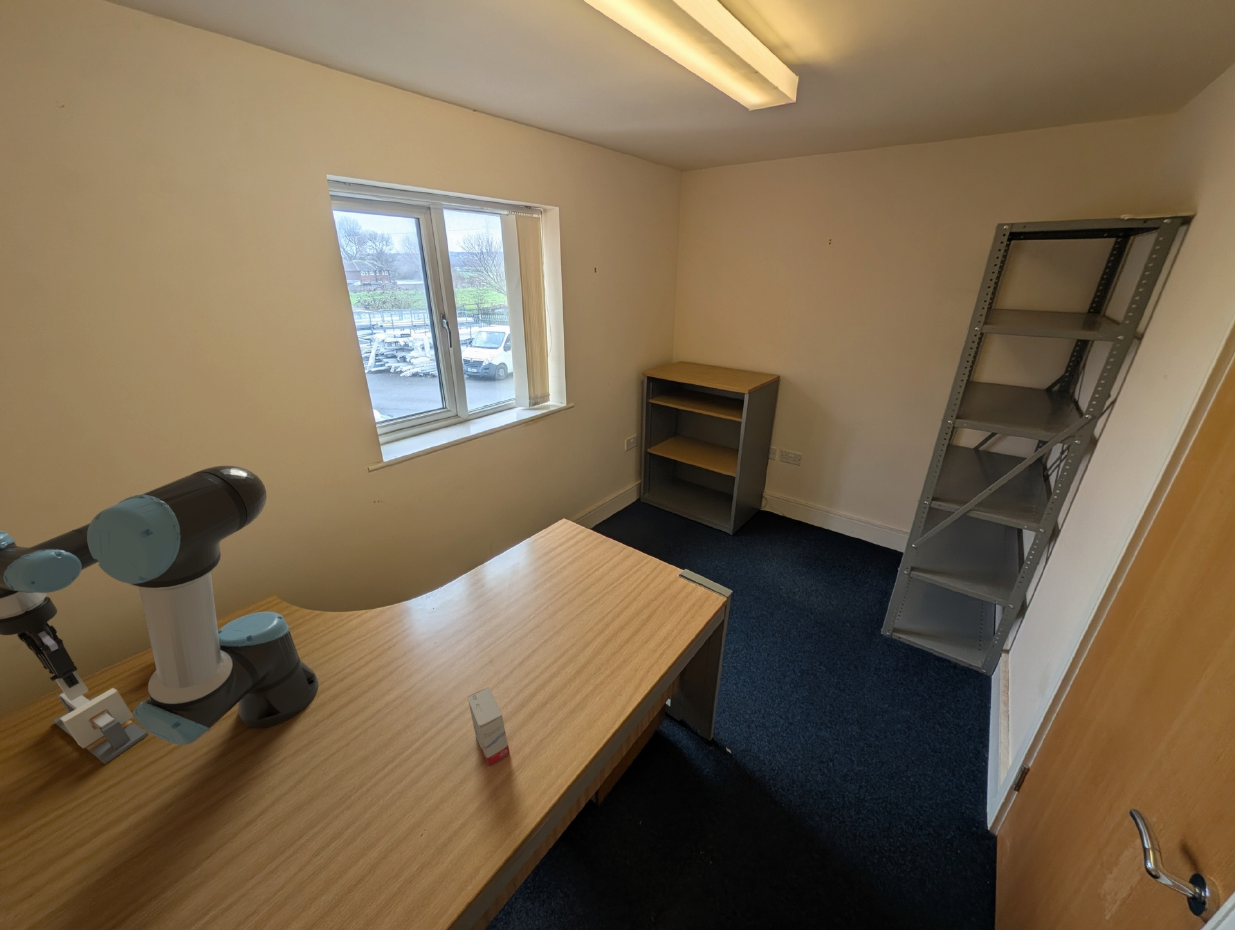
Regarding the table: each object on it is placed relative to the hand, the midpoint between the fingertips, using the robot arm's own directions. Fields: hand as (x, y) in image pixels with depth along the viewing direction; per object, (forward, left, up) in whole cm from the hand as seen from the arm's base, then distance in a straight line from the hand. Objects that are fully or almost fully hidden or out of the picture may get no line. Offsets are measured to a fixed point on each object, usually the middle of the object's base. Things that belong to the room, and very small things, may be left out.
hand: (78, 694), depth 96 cm
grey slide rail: (-1, 0, -10) cm, 10 cm away
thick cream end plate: (-5, 0, -8) cm, 10 cm away
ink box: (-83, -32, -11) cm, 89 cm away
